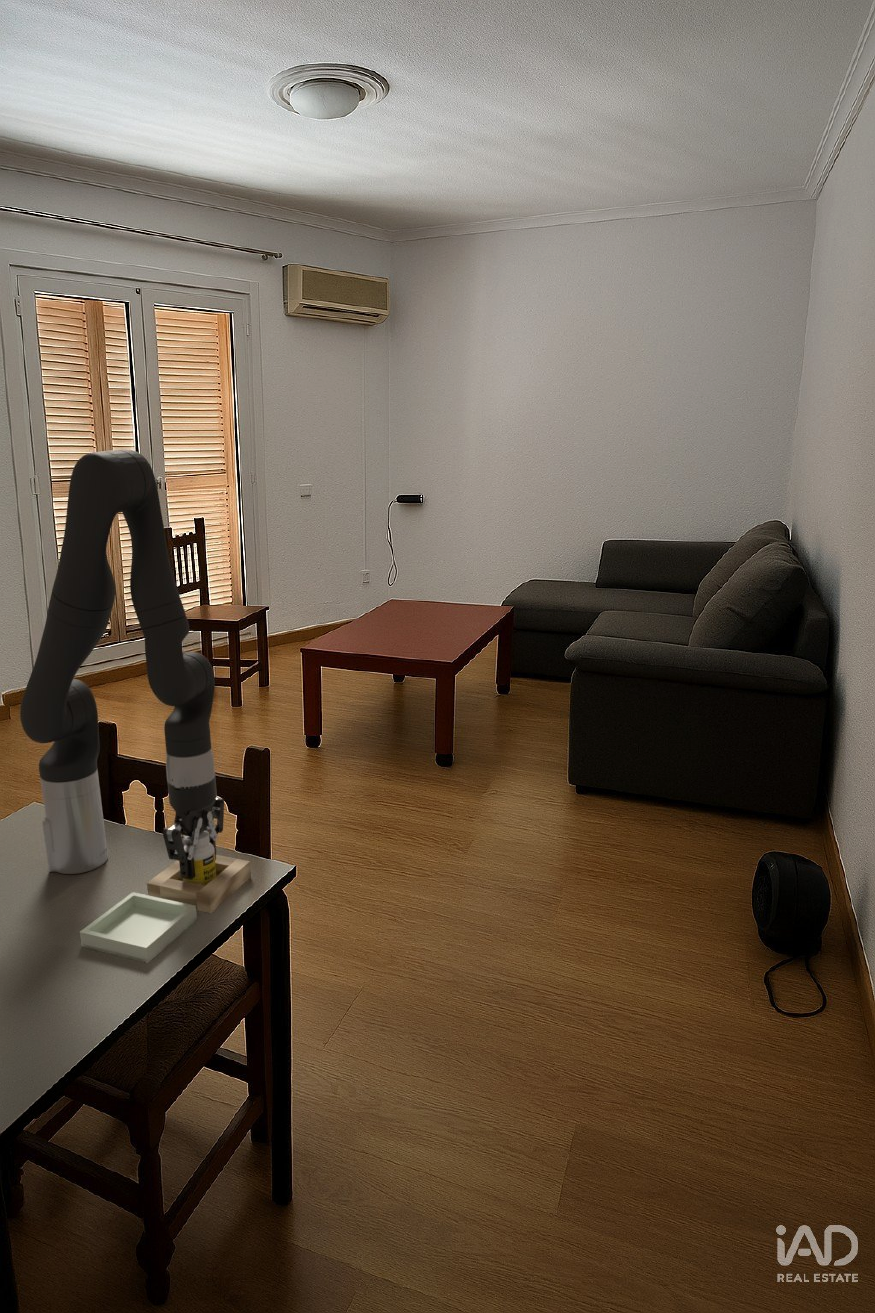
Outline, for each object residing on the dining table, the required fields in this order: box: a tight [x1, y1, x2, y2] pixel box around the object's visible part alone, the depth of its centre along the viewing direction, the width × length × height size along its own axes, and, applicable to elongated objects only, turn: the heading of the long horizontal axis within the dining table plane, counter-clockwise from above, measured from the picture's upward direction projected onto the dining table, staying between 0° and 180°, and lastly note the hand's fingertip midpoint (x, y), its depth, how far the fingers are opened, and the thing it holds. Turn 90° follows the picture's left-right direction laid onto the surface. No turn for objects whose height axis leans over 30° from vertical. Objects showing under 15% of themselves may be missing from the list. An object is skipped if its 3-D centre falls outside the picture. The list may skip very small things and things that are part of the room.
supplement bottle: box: [183, 830, 216, 886], centre depth 146 cm, size 5×5×10 cm
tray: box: [79, 891, 198, 964], centre depth 134 cm, size 12×12×2 cm
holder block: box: [146, 854, 252, 914], centre depth 147 cm, size 12×12×3 cm
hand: (199, 869), depth 147 cm, fingers closed on supplement bottle, 5 cm apart
